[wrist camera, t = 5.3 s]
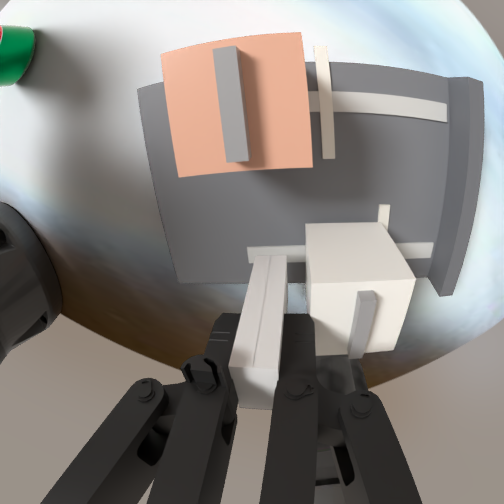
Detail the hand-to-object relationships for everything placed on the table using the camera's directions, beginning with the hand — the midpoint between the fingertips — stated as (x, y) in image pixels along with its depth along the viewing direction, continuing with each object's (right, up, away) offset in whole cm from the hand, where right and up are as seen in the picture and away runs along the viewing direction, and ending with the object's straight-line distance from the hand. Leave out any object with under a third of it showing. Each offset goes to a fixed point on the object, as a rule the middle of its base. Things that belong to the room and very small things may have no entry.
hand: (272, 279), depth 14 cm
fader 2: (+4, +1, +1) cm, 4 cm away
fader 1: (-1, +8, -3) cm, 8 cm away
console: (+2, +6, 0) cm, 6 cm away
